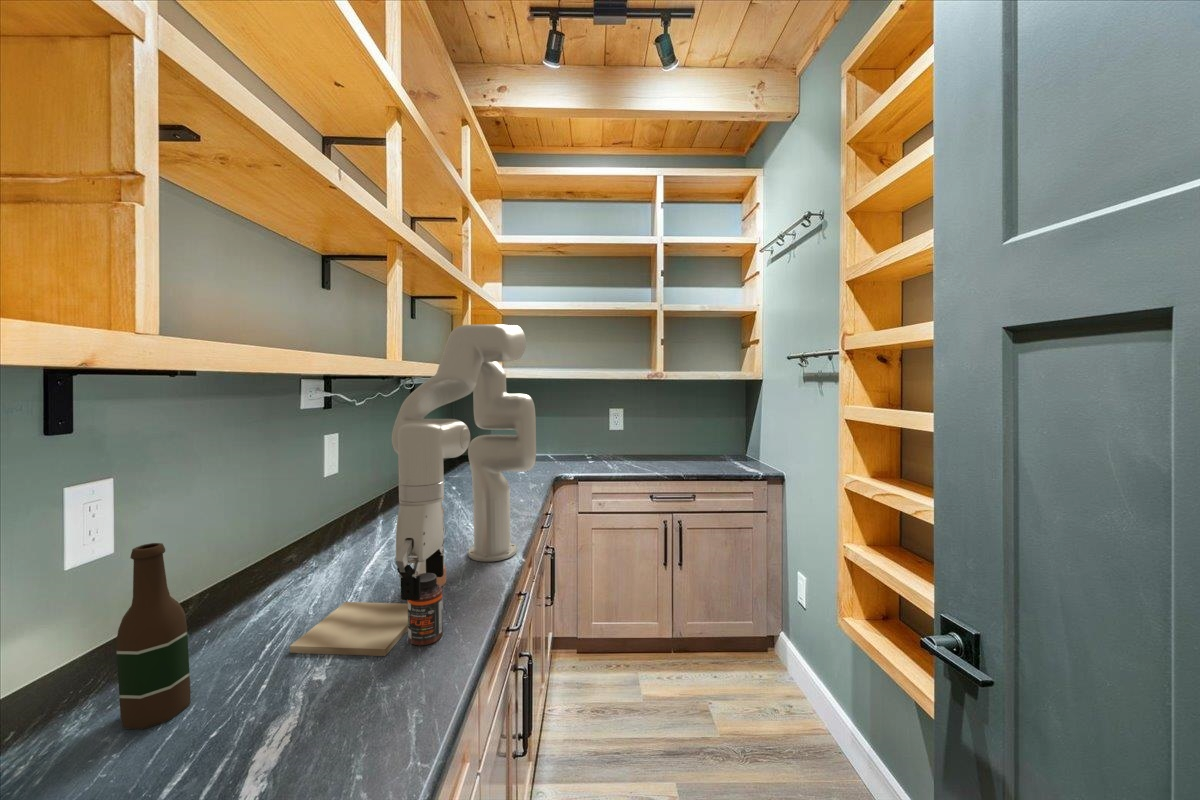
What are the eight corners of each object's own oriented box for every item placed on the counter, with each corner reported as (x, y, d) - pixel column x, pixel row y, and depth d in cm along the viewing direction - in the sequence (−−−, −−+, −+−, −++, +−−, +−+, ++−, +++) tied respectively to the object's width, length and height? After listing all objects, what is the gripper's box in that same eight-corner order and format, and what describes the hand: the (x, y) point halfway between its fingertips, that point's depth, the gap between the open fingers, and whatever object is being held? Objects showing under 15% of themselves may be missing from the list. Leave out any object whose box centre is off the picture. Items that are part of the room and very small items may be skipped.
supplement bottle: (406, 649, 83) (404, 585, 83) (410, 632, 89) (408, 572, 89) (442, 644, 85) (441, 581, 84) (444, 627, 91) (442, 568, 90)
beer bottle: (178, 723, 66) (168, 551, 65) (105, 738, 63) (93, 559, 62) (203, 688, 73) (194, 534, 72) (138, 700, 71) (128, 540, 69)
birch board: (345, 607, 99) (345, 601, 99) (426, 609, 97) (425, 604, 97) (289, 652, 83) (289, 645, 83) (385, 656, 82) (385, 649, 81)
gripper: (422, 482, 94) (424, 568, 95) (375, 504, 77) (377, 609, 78) (460, 482, 94) (461, 569, 94) (420, 504, 77) (422, 610, 77)
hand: (423, 587), depth 86 cm, fingers open, 9 cm apart
